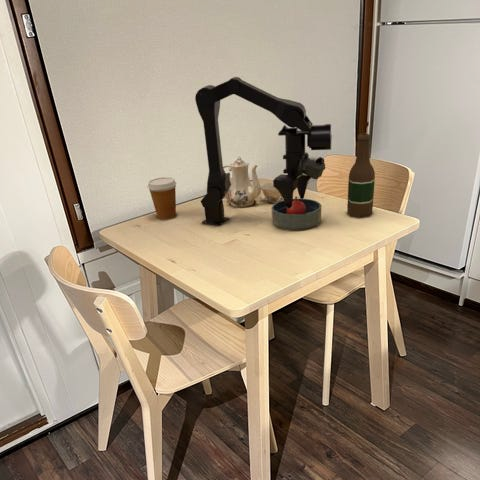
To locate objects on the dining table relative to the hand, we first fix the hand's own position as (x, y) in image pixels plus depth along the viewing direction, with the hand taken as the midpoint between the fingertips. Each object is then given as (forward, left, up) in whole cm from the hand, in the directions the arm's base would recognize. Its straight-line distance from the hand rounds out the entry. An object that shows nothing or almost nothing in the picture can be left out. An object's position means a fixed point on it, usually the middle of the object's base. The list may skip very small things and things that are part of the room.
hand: (295, 203), depth 149 cm
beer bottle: (+13, -16, -6) cm, 22 cm away
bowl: (0, 0, -6) cm, 6 cm away
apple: (0, 0, -5) cm, 5 cm away
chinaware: (+14, +25, -6) cm, 29 cm away
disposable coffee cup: (-9, +44, -6) cm, 45 cm away
